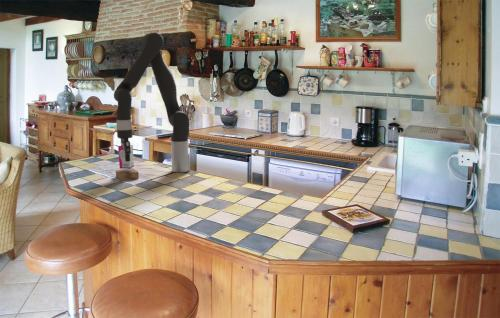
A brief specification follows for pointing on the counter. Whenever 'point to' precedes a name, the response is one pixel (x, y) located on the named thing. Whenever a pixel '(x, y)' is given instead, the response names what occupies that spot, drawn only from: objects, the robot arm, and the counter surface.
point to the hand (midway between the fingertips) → (126, 159)
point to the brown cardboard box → (127, 174)
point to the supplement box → (122, 162)
